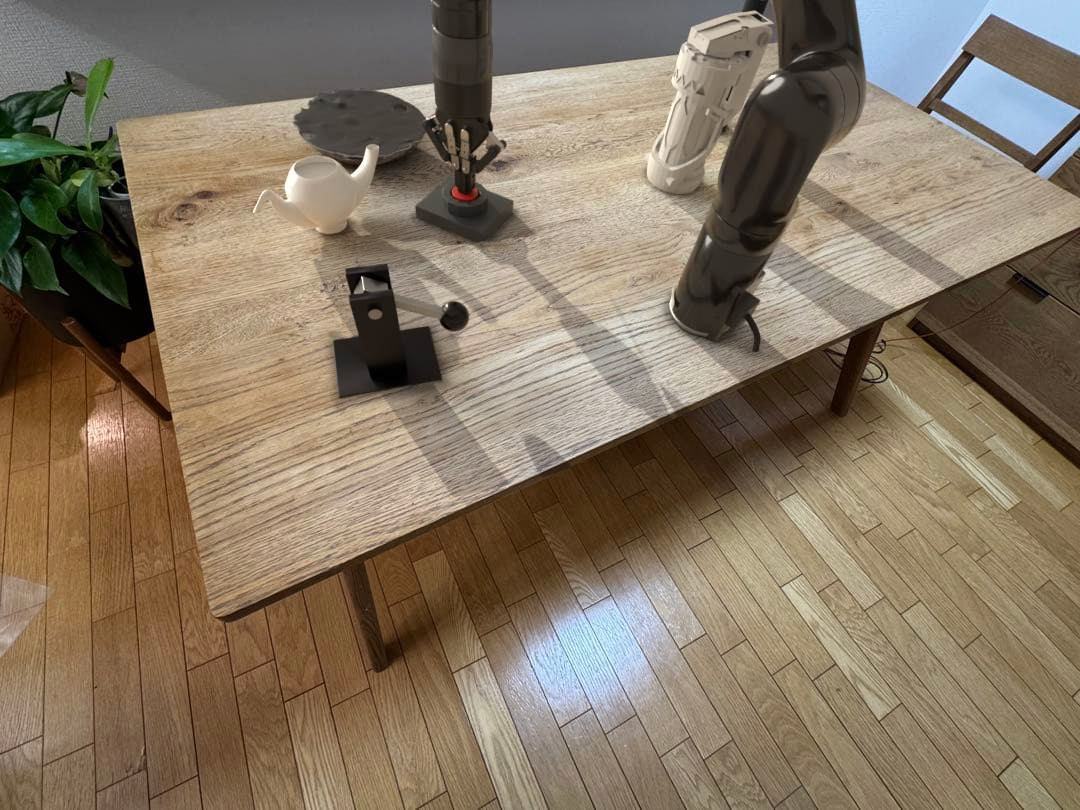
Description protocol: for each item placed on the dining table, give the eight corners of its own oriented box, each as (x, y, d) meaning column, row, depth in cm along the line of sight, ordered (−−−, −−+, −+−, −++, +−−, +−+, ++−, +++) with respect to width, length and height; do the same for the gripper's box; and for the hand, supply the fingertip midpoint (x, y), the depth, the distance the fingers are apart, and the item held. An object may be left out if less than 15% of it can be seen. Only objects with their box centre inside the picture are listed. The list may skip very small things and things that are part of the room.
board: (417, 112, 99) (414, 84, 95) (442, 177, 88) (440, 148, 84) (296, 119, 94) (287, 89, 89) (305, 190, 82) (296, 159, 78)
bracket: (429, 331, 68) (419, 247, 57) (442, 385, 64) (435, 304, 52) (334, 346, 65) (304, 259, 54) (340, 403, 61) (309, 321, 49)
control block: (512, 212, 85) (514, 190, 81) (482, 245, 79) (482, 223, 76) (450, 187, 87) (449, 165, 83) (416, 218, 81) (413, 195, 78)
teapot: (252, 233, 75) (226, 174, 68) (369, 187, 85) (358, 130, 77) (286, 268, 72) (264, 210, 64) (404, 216, 81) (397, 160, 74)
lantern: (664, 199, 91) (718, 37, 71) (634, 167, 96) (677, 7, 76) (721, 187, 95) (789, 31, 75) (690, 157, 100) (745, 3, 80)
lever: (456, 319, 64) (471, 299, 62) (463, 340, 62) (477, 320, 60) (350, 291, 56) (363, 266, 54) (354, 315, 54) (367, 290, 52)
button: (482, 199, 82) (482, 189, 80) (469, 212, 79) (469, 202, 78) (461, 191, 82) (460, 180, 81) (447, 203, 80) (447, 193, 79)
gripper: (522, 73, 66) (514, 194, 80) (435, 42, 69) (442, 165, 83) (493, 95, 62) (490, 218, 76) (401, 62, 64) (415, 188, 79)
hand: (465, 190), depth 80 cm, fingers closed
